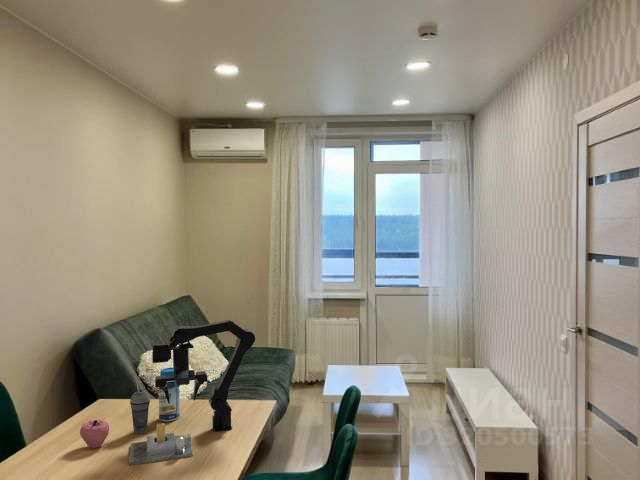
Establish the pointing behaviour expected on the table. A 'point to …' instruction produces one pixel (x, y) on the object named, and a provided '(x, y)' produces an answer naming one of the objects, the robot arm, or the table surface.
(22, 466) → the table surface
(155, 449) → the gray tray
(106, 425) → the apple
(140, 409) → the beverage cup
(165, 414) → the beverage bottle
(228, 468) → the table surface
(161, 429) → the pale yellow rectangular prism
